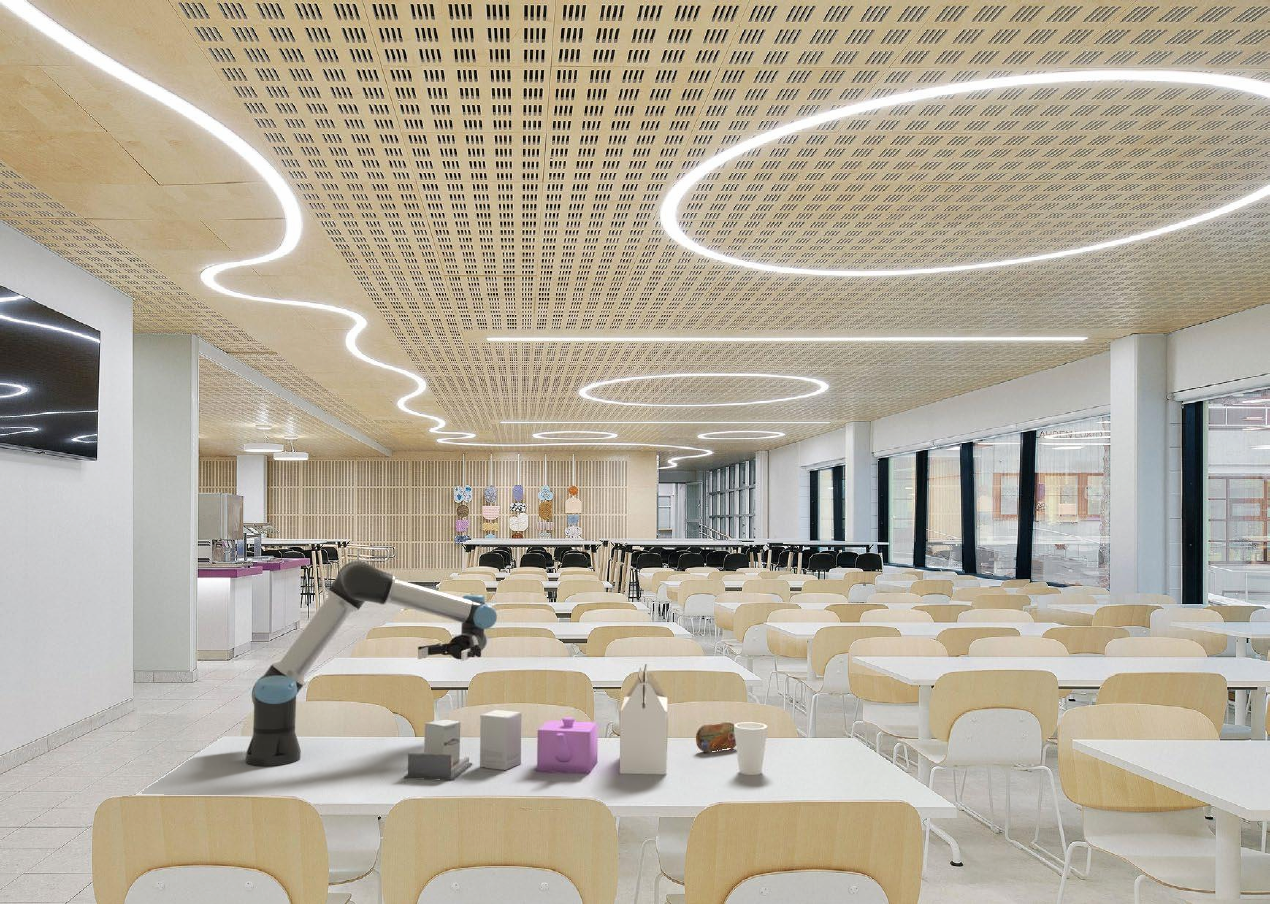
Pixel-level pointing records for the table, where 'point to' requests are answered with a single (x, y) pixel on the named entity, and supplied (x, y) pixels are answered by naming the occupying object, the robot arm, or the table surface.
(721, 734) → the tin
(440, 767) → the pusher lane
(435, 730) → the supplement box
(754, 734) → the foam cup
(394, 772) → the table surface
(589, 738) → the teapot
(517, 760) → the supplement box
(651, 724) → the gable box
